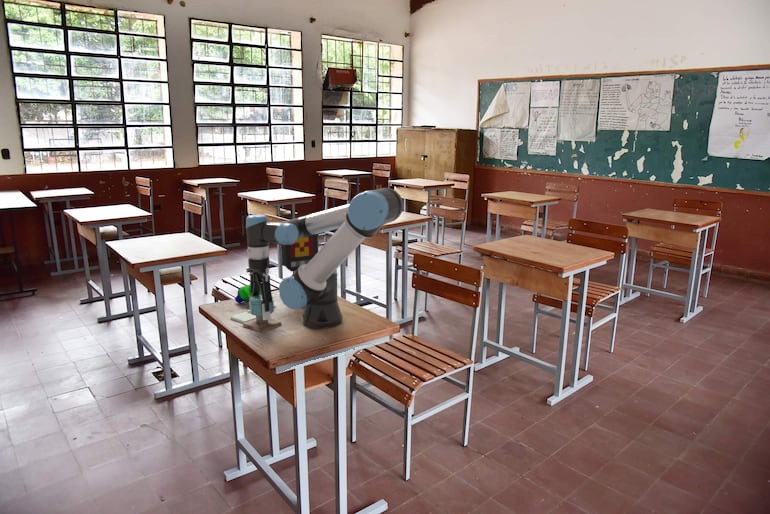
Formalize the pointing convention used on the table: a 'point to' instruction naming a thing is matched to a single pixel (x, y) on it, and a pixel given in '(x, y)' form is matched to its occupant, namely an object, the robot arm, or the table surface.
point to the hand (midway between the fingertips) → (262, 316)
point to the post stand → (261, 324)
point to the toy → (244, 294)
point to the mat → (243, 317)
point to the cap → (258, 305)
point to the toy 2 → (299, 252)
